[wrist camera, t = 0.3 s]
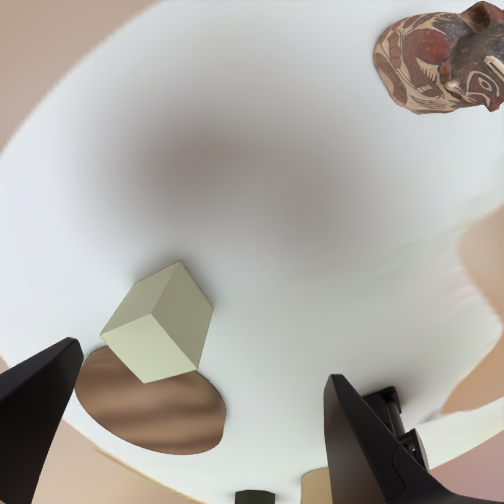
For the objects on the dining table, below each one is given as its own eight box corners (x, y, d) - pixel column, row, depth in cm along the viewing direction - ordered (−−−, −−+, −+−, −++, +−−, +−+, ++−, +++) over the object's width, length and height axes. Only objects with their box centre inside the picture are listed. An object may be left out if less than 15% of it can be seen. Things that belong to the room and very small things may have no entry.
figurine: (363, 91, 17) (470, 70, 6) (380, 9, 14) (472, -60, 3) (445, 129, 17) (568, 158, 6) (460, 51, 14) (573, 35, 3)
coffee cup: (332, 484, 42) (336, 536, 31) (287, 482, 41) (287, 538, 30) (361, 465, 38) (370, 524, 27) (313, 463, 37) (317, 529, 26)
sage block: (213, 308, 25) (197, 368, 18) (167, 326, 26) (143, 383, 19) (180, 260, 23) (150, 313, 16) (134, 283, 24) (99, 335, 18)
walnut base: (253, 426, 32) (252, 446, 29) (147, 441, 36) (143, 457, 33) (160, 324, 26) (150, 346, 23) (60, 362, 30) (49, 378, 27)
